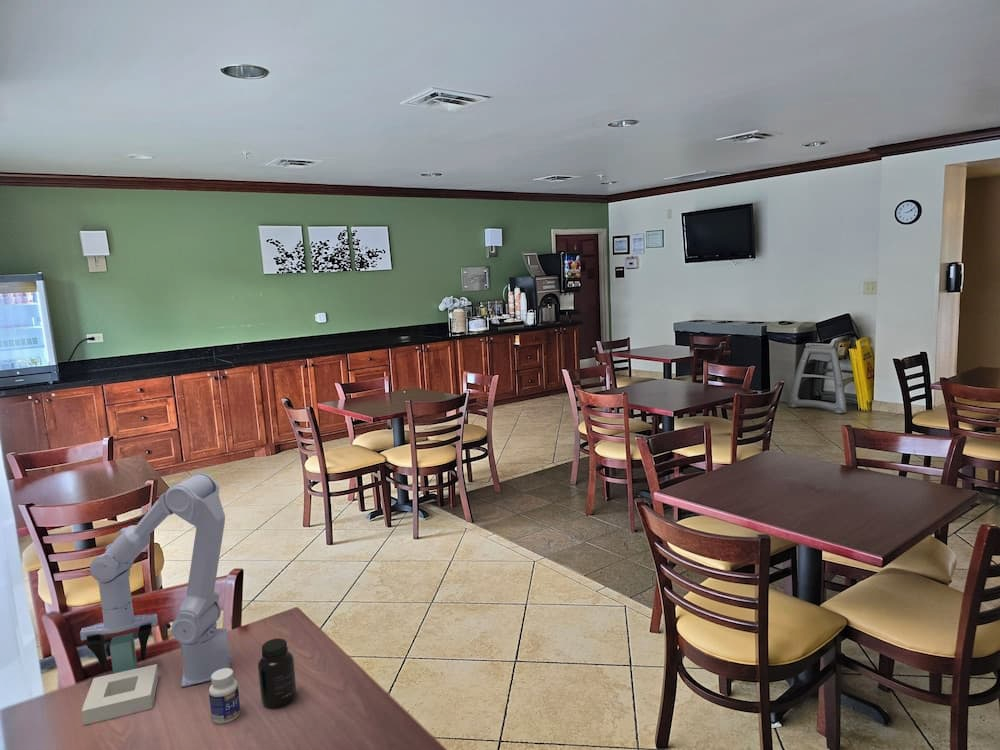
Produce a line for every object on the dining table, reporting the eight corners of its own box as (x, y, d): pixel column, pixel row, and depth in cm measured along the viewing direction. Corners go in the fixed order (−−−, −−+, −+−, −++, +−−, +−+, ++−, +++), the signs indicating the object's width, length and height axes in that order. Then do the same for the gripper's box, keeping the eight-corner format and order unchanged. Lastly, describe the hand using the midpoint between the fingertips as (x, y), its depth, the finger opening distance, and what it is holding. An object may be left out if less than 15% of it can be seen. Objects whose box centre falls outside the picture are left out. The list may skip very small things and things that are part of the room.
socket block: (158, 676, 143) (157, 664, 143) (152, 708, 132) (150, 694, 132) (95, 691, 139) (93, 678, 139) (83, 725, 128) (81, 711, 128)
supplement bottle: (255, 700, 134) (249, 645, 132) (286, 684, 138) (281, 631, 137) (272, 714, 129) (266, 657, 127) (303, 697, 134) (298, 642, 132)
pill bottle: (230, 725, 126) (225, 683, 125) (205, 723, 127) (201, 680, 126) (246, 708, 131) (241, 667, 130) (222, 706, 132) (218, 665, 131)
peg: (137, 666, 148) (133, 632, 147) (134, 675, 144) (130, 641, 143) (117, 670, 147) (112, 636, 146) (114, 680, 143) (109, 645, 142)
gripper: (156, 589, 150) (162, 645, 152) (82, 602, 144) (90, 660, 146) (152, 602, 143) (159, 660, 145) (75, 617, 138) (83, 677, 140)
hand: (124, 661), depth 145 cm, fingers open, 7 cm apart
